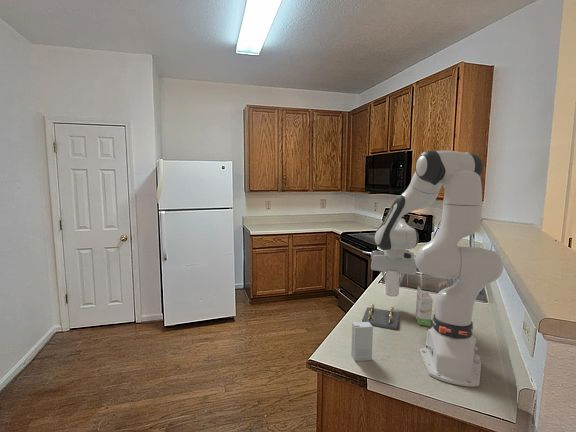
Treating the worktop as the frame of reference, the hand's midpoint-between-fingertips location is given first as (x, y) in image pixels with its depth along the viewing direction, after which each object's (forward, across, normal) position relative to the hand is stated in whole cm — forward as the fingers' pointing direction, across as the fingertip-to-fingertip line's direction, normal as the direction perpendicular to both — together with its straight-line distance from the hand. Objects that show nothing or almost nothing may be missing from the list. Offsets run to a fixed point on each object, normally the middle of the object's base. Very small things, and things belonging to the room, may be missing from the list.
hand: (392, 281), depth 150 cm
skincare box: (+15, -6, -48) cm, 51 cm away
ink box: (+14, +14, -8) cm, 21 cm away
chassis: (+14, -3, -14) cm, 19 cm away
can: (+6, 0, 0) cm, 6 cm away
